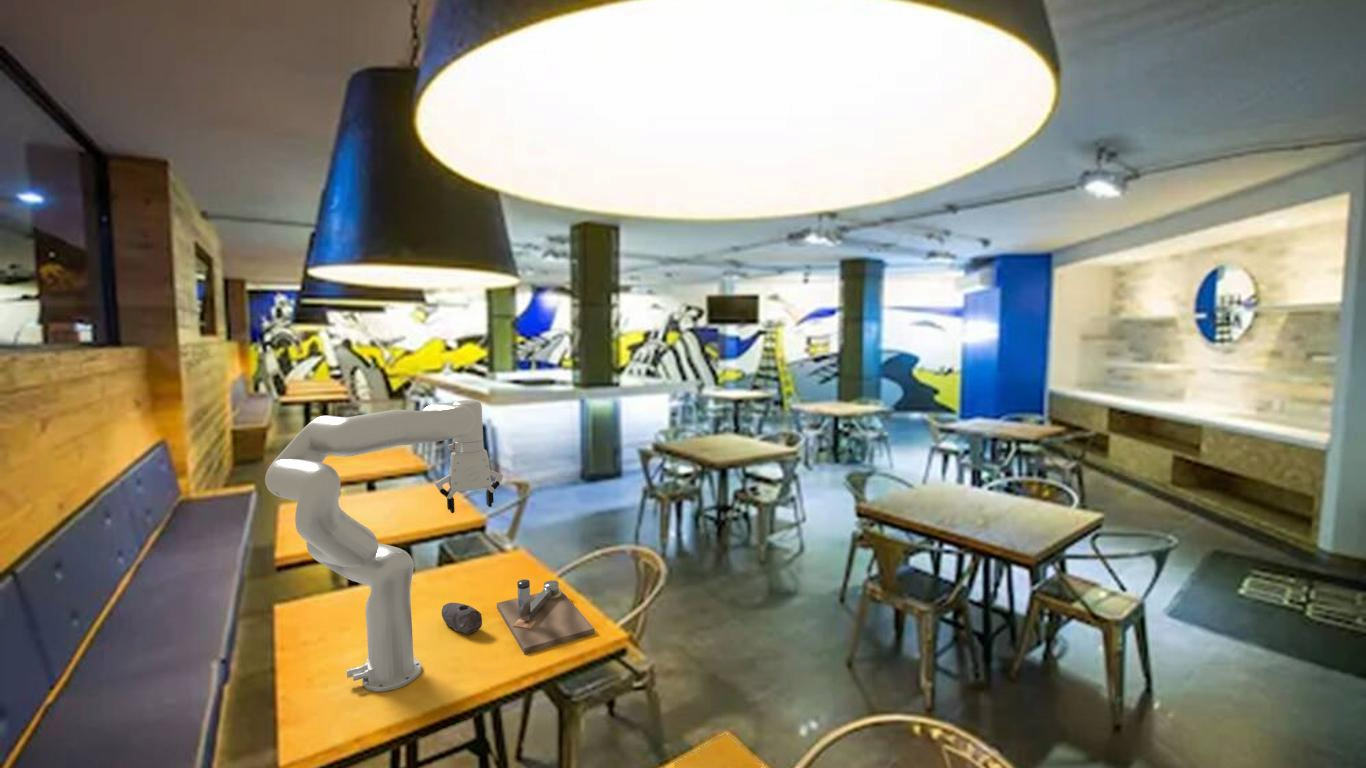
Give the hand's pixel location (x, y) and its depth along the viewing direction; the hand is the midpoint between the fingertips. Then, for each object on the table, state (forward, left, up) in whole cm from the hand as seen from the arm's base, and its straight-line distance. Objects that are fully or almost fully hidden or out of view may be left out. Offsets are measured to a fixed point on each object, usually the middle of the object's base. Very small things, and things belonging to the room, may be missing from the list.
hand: (470, 508), depth 160 cm
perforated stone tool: (-4, +1, -34) cm, 34 cm away
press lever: (+17, -2, -31) cm, 36 cm away
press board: (+17, -7, -33) cm, 38 cm away
